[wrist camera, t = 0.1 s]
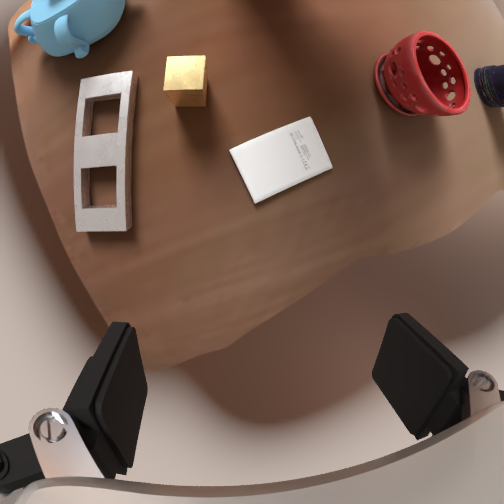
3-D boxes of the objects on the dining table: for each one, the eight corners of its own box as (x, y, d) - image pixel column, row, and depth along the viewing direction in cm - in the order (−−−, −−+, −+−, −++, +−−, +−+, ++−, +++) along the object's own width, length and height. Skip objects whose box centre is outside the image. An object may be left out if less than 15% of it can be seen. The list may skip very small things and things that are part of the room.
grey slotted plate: (89, 84, 30) (81, 79, 27) (138, 76, 31) (132, 70, 28) (85, 226, 36) (76, 231, 34) (132, 226, 37) (126, 231, 35)
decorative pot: (34, 46, 25) (-9, 24, 12) (93, -21, 22) (66, -58, 9) (86, 75, 29) (40, 48, 17) (154, -1, 27) (136, -49, 14)
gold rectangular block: (177, 79, 32) (167, 57, 24) (207, 79, 33) (205, 55, 24) (175, 106, 33) (163, 90, 25) (205, 106, 34) (202, 89, 25)
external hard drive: (228, 150, 37) (307, 117, 36) (253, 202, 39) (329, 168, 39) (229, 149, 35) (310, 115, 35) (255, 204, 38) (333, 168, 37)
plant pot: (407, 136, 38) (457, 133, 27) (353, 79, 35) (396, 57, 23) (435, 91, 36) (481, 83, 25) (388, 38, 32) (428, 16, 21)
